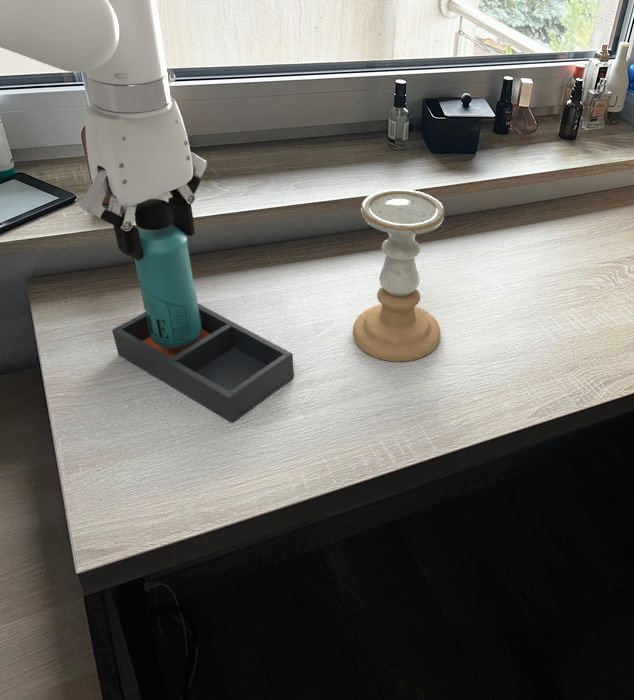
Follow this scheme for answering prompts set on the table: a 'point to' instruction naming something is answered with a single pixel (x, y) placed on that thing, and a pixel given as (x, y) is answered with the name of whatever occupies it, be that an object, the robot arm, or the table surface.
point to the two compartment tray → (211, 363)
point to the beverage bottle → (166, 277)
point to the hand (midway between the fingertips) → (158, 242)
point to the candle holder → (399, 278)
